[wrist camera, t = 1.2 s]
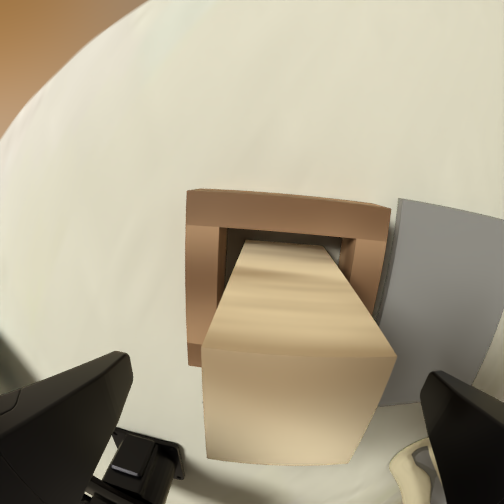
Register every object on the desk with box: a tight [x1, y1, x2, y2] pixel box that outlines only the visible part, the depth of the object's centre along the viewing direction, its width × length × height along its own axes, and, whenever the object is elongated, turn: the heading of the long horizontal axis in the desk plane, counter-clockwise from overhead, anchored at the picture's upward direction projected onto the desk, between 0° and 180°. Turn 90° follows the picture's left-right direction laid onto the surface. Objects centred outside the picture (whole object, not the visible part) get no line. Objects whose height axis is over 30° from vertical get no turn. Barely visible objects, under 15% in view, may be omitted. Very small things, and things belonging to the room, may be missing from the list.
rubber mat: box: [376, 198, 504, 407], centre depth 15 cm, size 14×11×1 cm
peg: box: [201, 240, 397, 466], centre depth 11 cm, size 4×4×10 cm
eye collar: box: [185, 189, 391, 367], centre depth 14 cm, size 9×9×2 cm
